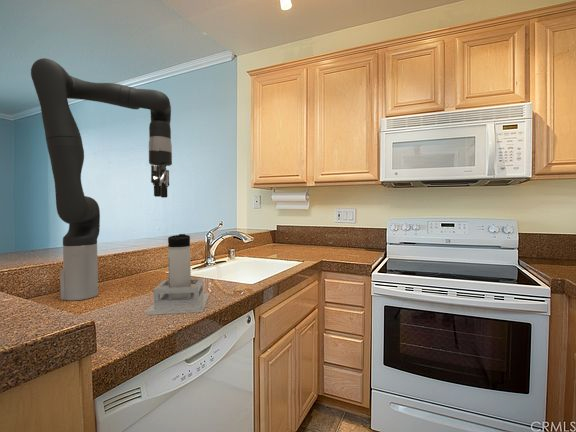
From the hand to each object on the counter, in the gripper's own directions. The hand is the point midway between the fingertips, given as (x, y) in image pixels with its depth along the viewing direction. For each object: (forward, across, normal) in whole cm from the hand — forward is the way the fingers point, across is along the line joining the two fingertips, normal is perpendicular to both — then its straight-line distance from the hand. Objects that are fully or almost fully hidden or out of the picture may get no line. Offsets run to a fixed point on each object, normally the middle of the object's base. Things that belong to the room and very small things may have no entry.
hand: (161, 197), depth 105 cm
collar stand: (+33, +19, +10) cm, 39 cm away
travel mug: (+32, +19, +10) cm, 39 cm away
